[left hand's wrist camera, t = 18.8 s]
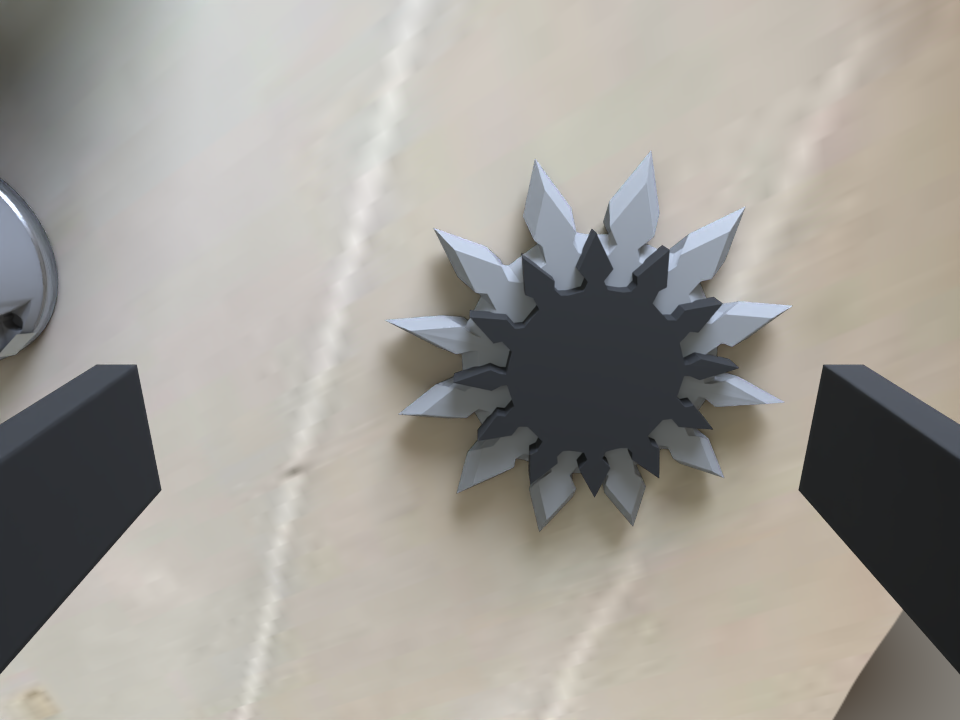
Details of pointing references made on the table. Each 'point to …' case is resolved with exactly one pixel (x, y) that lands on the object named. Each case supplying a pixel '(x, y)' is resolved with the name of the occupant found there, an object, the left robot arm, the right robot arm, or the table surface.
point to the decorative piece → (591, 348)
